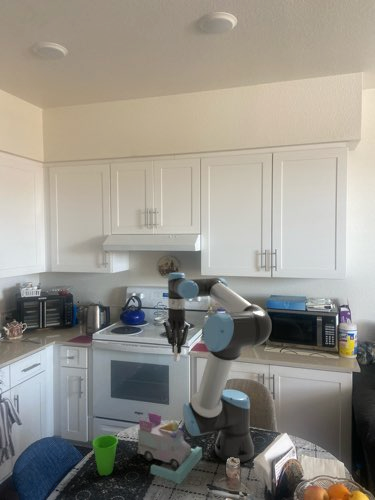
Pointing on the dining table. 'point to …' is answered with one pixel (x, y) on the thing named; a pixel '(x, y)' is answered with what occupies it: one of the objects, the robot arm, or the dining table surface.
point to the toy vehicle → (162, 441)
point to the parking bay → (182, 470)
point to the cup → (105, 453)
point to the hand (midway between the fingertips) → (176, 360)
